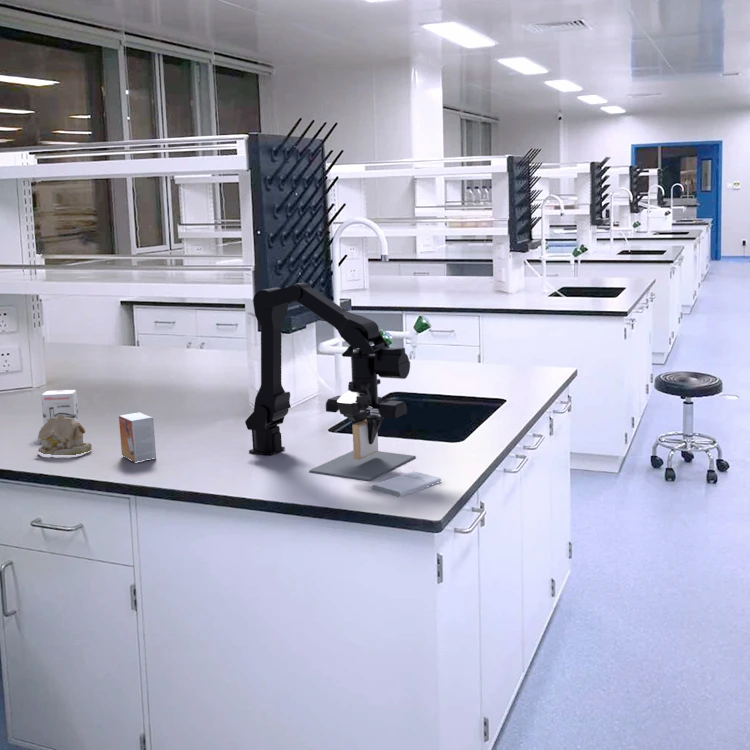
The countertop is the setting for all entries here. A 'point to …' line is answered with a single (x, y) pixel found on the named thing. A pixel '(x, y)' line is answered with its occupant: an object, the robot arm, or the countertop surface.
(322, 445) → the countertop surface
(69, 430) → the ceramic model
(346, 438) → the countertop surface
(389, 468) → the mat
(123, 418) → the small box
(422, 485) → the external hard drive
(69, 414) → the ink box
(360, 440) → the tile
